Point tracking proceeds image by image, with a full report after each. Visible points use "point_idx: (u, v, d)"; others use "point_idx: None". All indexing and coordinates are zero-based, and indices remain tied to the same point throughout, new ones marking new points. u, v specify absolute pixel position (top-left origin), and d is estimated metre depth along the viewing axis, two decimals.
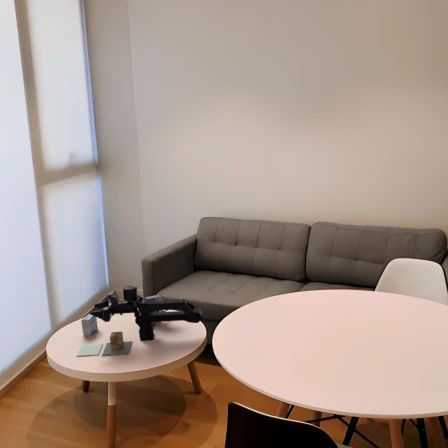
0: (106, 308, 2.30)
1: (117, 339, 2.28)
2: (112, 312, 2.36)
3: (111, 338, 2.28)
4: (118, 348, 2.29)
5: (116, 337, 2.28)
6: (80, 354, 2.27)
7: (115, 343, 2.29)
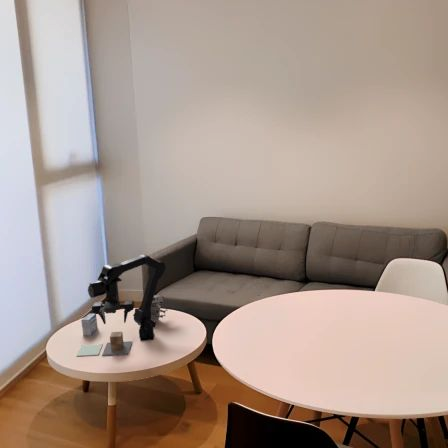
0: (128, 308, 2.24)
1: (117, 339, 2.28)
2: None
3: (111, 338, 2.28)
4: (118, 348, 2.29)
5: (116, 337, 2.28)
6: (80, 354, 2.27)
7: (115, 343, 2.29)
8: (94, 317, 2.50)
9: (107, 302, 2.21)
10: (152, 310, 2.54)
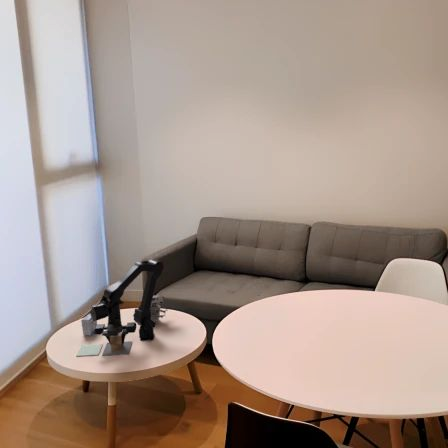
0: (130, 330, 2.27)
1: (117, 339, 2.28)
2: None
3: (111, 338, 2.28)
4: (118, 348, 2.29)
5: (116, 337, 2.28)
6: (80, 354, 2.27)
7: (115, 343, 2.29)
8: None
9: (109, 325, 2.24)
10: (152, 310, 2.54)
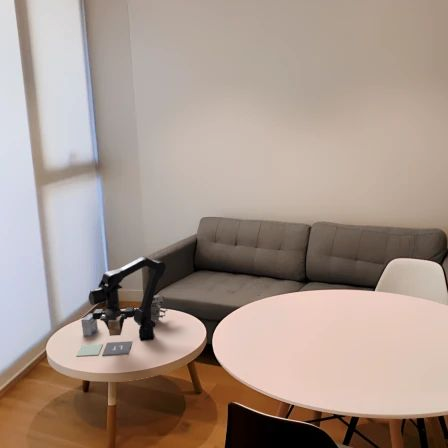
0: (128, 315, 2.25)
1: (115, 324, 2.26)
2: (119, 308, 2.29)
3: (109, 323, 2.26)
4: (116, 333, 2.27)
5: (115, 322, 2.26)
6: (80, 354, 2.27)
7: (113, 328, 2.27)
8: None
9: (108, 309, 2.22)
10: (152, 310, 2.54)
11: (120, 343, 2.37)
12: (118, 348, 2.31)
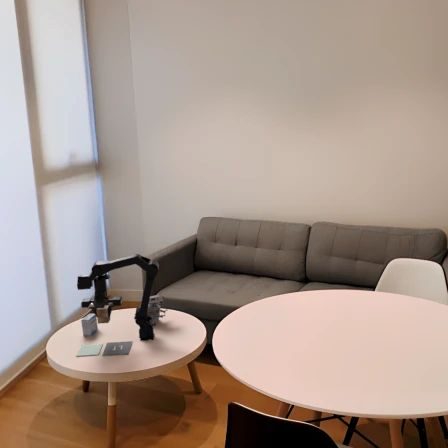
0: (116, 303, 2.33)
1: (103, 312, 2.34)
2: (107, 297, 2.37)
3: (98, 311, 2.34)
4: (105, 321, 2.35)
5: (103, 310, 2.34)
6: (80, 354, 2.27)
7: (102, 316, 2.35)
8: (94, 317, 2.50)
9: (96, 298, 2.30)
10: (152, 310, 2.54)
11: (120, 343, 2.37)
12: (118, 348, 2.31)
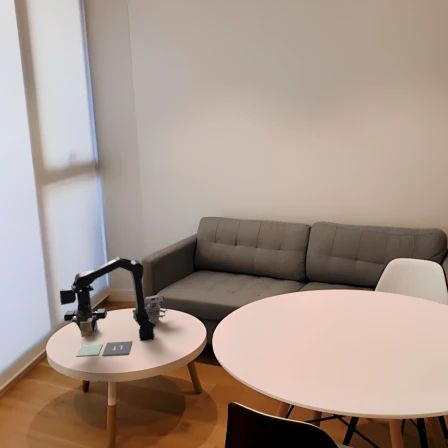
0: (100, 316, 2.25)
1: (87, 326, 2.26)
2: (91, 310, 2.28)
3: (81, 324, 2.26)
4: (88, 335, 2.27)
5: (87, 323, 2.26)
6: (80, 354, 2.27)
7: (85, 329, 2.26)
8: None
9: (79, 311, 2.22)
10: (152, 310, 2.54)
11: (120, 343, 2.37)
12: (118, 348, 2.31)
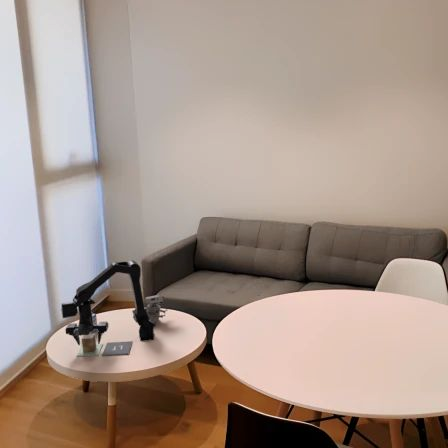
0: (101, 329, 2.26)
1: (89, 341, 2.28)
2: None
3: (83, 340, 2.28)
4: (90, 350, 2.29)
5: (88, 339, 2.28)
6: (80, 354, 2.27)
7: (87, 345, 2.28)
8: (94, 317, 2.50)
9: (80, 324, 2.23)
10: (152, 310, 2.54)
11: (120, 343, 2.37)
12: (118, 348, 2.31)
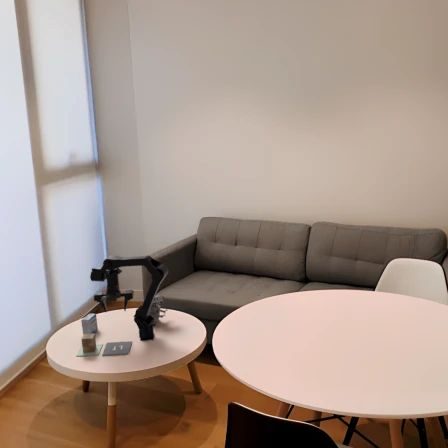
0: (128, 296, 2.38)
1: (89, 341, 2.28)
2: (119, 291, 2.41)
3: (83, 340, 2.28)
4: (90, 350, 2.29)
5: (88, 339, 2.28)
6: (80, 354, 2.27)
7: (87, 345, 2.28)
8: (94, 317, 2.50)
9: (108, 291, 2.35)
10: (152, 310, 2.54)
11: (120, 343, 2.37)
12: (118, 348, 2.31)
